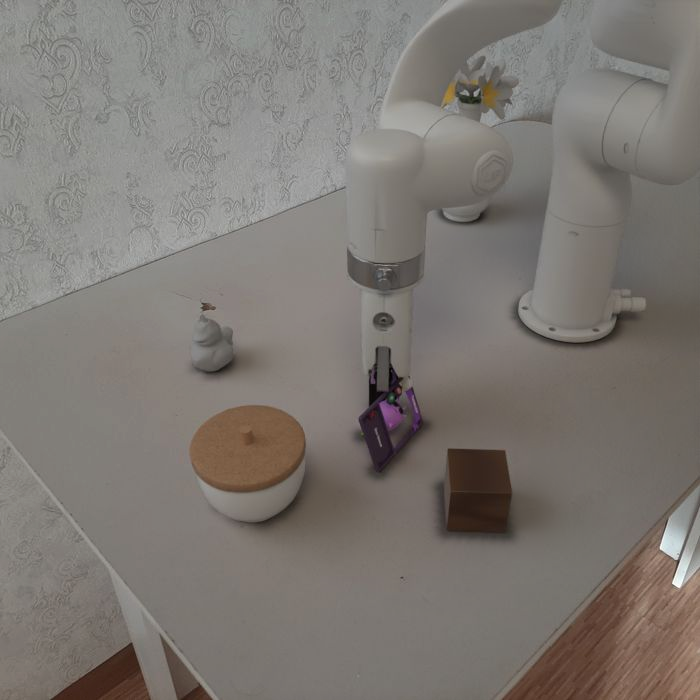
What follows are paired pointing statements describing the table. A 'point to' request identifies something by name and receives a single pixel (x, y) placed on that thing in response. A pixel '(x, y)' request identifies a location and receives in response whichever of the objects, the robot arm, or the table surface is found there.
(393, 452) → the game card
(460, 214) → the flower vase
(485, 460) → the walnut block
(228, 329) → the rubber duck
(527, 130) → the table surface
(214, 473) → the trinket box
